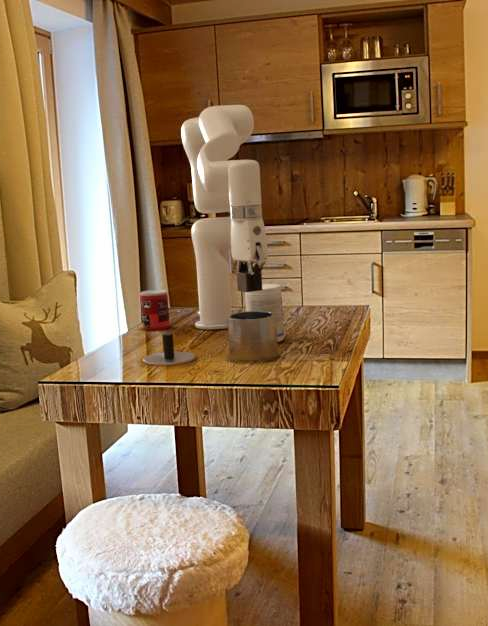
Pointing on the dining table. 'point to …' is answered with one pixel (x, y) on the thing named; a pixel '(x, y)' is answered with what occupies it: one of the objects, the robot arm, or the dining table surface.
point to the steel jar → (252, 336)
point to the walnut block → (243, 281)
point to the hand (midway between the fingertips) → (250, 289)
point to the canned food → (155, 309)
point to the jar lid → (168, 354)
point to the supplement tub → (268, 304)
